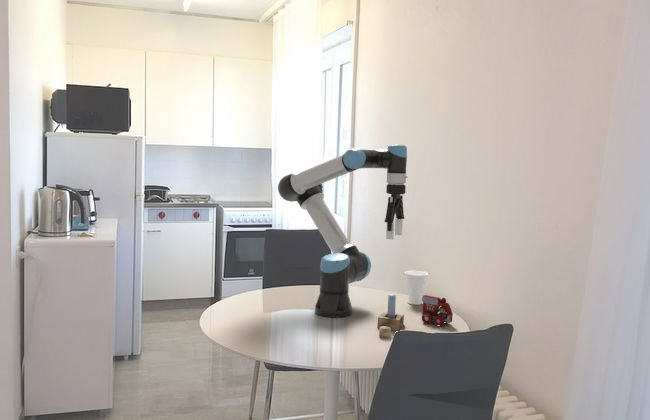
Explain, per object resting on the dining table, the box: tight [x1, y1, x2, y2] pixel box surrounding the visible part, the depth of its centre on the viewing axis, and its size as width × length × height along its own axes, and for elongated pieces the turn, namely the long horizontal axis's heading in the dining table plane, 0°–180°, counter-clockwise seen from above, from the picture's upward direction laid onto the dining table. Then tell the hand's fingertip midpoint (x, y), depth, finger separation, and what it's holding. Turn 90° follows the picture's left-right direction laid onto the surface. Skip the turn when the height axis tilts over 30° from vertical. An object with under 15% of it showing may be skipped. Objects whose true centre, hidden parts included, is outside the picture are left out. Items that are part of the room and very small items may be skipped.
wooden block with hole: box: [377, 311, 405, 331], centre depth 215 cm, size 8×8×4 cm
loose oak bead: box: [378, 326, 392, 339], centre depth 203 cm, size 4×4×3 cm
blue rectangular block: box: [387, 293, 397, 318], centre depth 214 cm, size 3×3×12 cm
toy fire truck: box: [421, 294, 454, 327], centre depth 220 cm, size 7×12×10 cm, turn 54°
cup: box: [403, 269, 429, 306], centre depth 249 cm, size 10×10×14 cm
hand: (394, 237), depth 228 cm, fingers open, 13 cm apart
